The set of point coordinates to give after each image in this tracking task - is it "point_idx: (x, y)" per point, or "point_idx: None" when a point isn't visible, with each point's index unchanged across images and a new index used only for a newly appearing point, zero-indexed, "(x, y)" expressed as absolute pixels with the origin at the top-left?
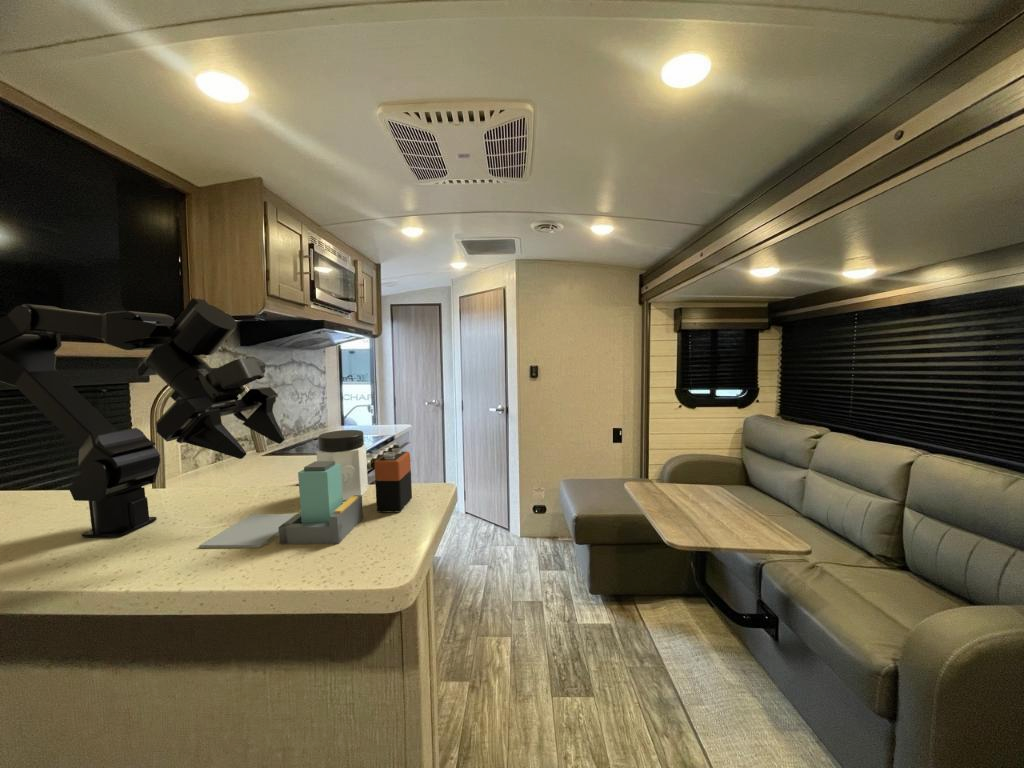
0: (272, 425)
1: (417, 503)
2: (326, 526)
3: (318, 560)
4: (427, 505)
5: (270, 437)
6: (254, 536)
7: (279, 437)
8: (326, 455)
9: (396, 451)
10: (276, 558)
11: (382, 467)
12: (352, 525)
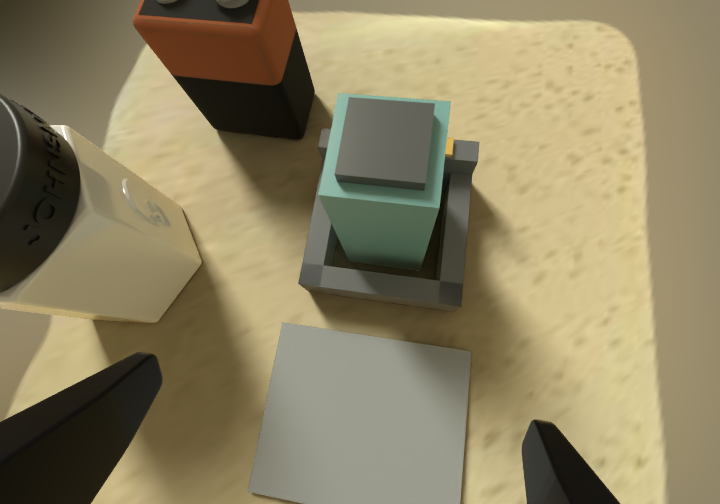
0: (30, 457)
1: None
2: (467, 183)
3: (540, 192)
4: None
5: (111, 456)
6: (419, 393)
7: (135, 382)
8: (74, 248)
9: None
10: (527, 286)
11: (274, 26)
12: None
